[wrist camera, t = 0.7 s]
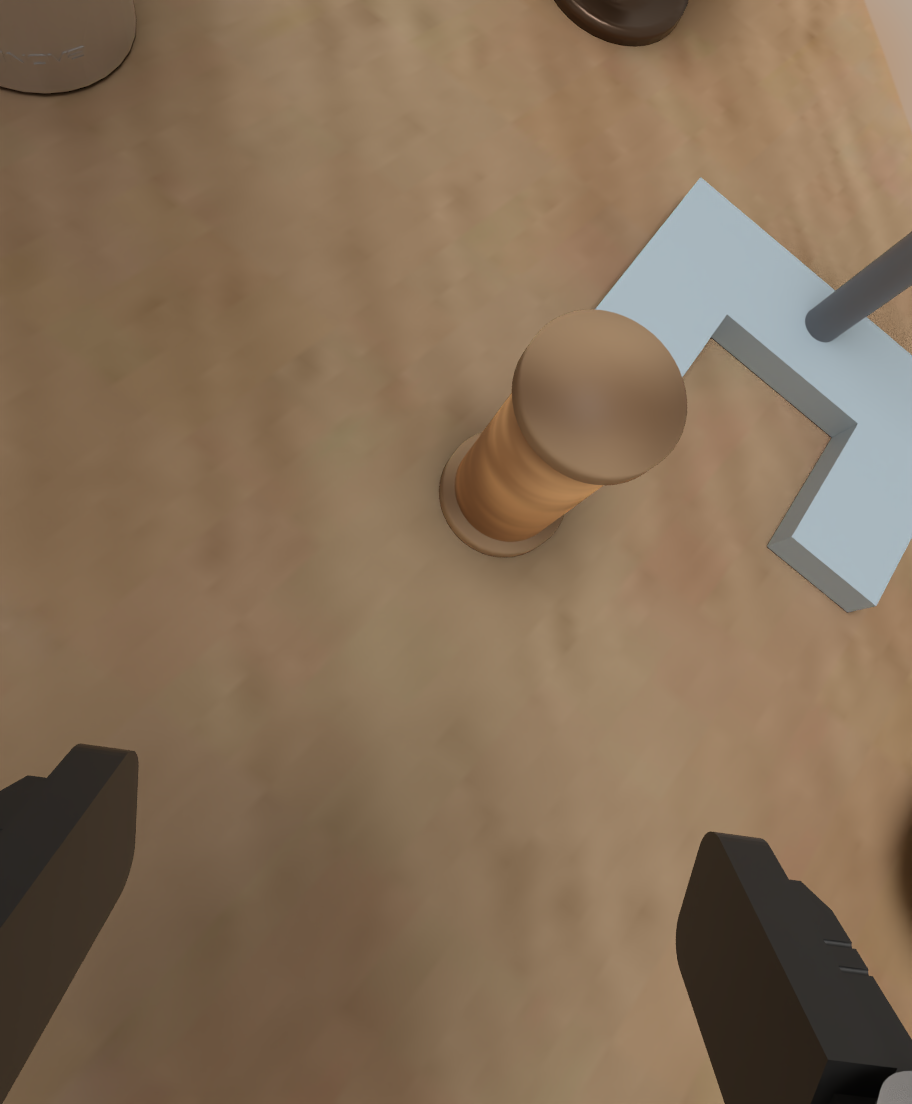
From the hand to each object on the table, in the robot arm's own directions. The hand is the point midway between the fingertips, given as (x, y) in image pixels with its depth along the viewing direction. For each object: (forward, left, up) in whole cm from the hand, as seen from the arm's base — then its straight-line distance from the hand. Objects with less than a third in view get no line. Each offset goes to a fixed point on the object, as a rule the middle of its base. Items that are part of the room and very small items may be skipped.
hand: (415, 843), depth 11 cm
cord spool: (-11, +11, -23) cm, 28 cm away
